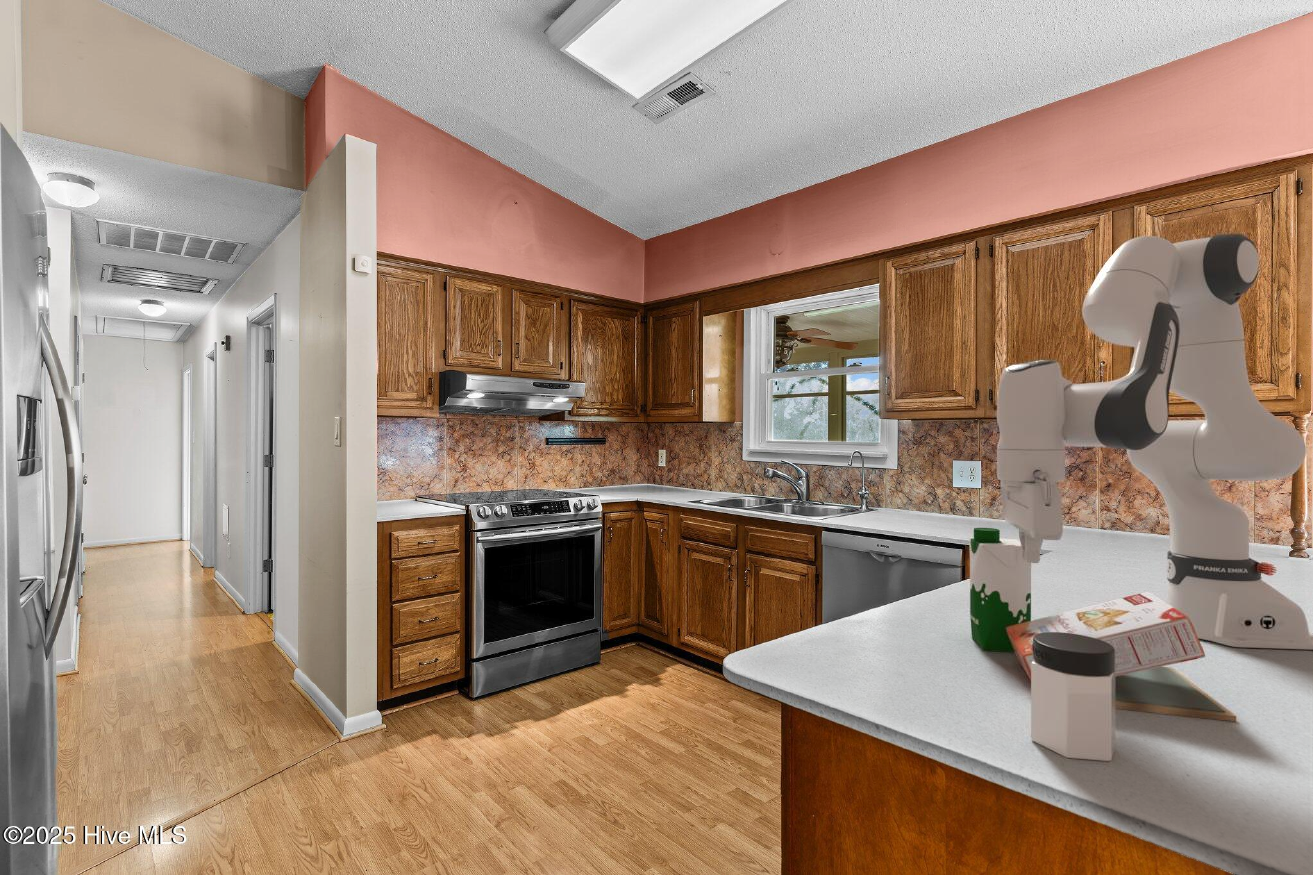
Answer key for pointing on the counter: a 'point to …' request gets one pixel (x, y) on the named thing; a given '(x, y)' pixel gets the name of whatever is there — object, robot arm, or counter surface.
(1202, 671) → the counter surface
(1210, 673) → the counter surface
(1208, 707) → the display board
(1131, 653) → the cracker box
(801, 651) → the counter surface
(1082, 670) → the jar
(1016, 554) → the soya milk
